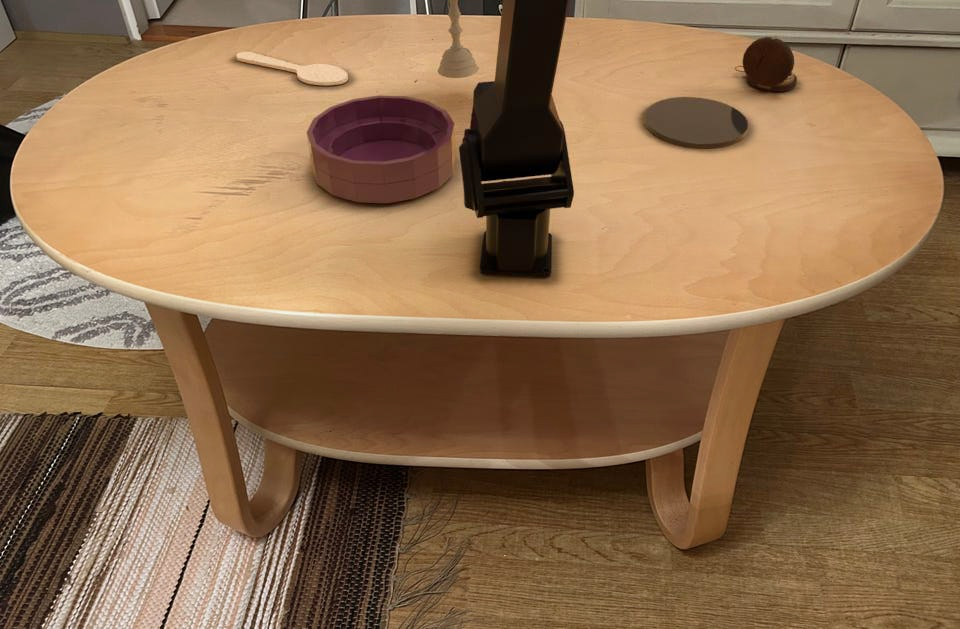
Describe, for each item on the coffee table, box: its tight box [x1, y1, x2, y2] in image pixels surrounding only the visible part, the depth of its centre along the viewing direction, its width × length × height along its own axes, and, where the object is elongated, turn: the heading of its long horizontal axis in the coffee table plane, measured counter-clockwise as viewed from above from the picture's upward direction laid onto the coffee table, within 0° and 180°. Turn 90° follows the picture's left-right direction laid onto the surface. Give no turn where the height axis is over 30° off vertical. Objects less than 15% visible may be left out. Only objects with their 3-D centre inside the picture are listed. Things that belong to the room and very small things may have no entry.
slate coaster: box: [643, 96, 749, 149], centre depth 94 cm, size 12×12×1 cm
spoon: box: [235, 51, 349, 86], centre depth 106 cm, size 5×18×1 cm, turn 62°
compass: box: [734, 35, 798, 92], centre depth 100 cm, size 8×8×7 cm
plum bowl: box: [306, 94, 456, 204], centre depth 85 cm, size 15×15×5 cm
